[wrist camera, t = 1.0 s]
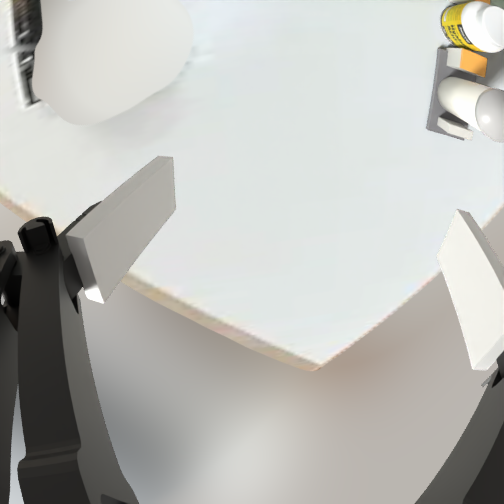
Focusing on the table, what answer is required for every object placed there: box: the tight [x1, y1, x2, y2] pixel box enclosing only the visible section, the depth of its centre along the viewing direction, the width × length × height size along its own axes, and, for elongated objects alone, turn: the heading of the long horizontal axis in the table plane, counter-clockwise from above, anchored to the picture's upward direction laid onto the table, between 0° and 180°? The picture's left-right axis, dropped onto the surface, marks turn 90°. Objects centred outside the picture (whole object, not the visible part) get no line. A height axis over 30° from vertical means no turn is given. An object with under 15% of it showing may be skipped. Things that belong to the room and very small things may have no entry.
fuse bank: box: [426, 0, 504, 142], centre depth 16 cm, size 27×5×12 cm, turn 179°
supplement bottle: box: [439, 1, 504, 53], centre depth 17 cm, size 5×5×10 cm
